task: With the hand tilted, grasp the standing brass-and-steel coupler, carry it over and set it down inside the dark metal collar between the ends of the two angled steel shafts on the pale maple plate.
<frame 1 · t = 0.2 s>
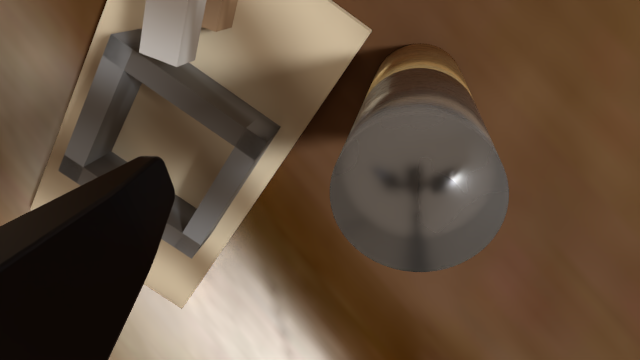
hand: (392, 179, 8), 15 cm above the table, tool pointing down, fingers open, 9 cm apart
coupler: (417, 89, 22), on the table
shaft station: (184, 137, 26), on the table
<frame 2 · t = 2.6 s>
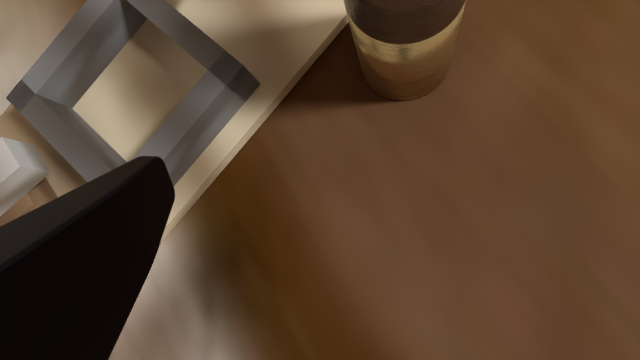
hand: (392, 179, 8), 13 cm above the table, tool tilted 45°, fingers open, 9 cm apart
coupler: (404, 57, 22), on the table
shaft station: (156, 103, 24), on the table
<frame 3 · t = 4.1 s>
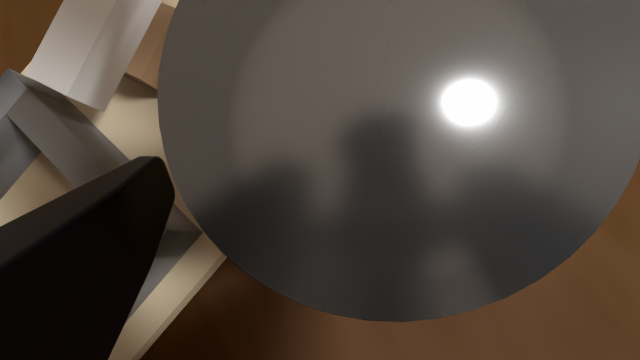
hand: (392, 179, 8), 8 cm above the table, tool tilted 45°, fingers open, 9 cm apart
coupler: (399, 200, 16), on the table
shaft station: (69, 242, 18), on the table
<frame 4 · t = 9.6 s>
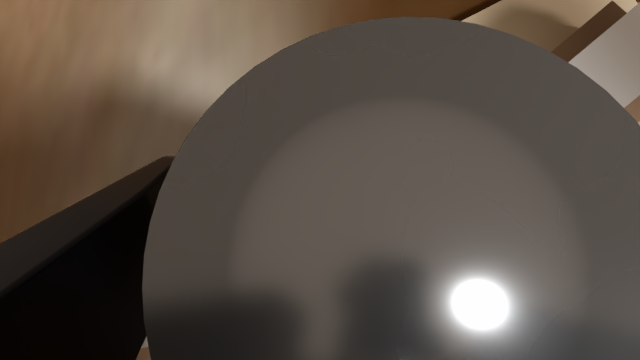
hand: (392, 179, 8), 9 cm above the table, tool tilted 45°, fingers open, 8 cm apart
coupler: (398, 250, 16), point 1 cm above the table, touching shaft station
shaft station: (398, 248, 17), on the table
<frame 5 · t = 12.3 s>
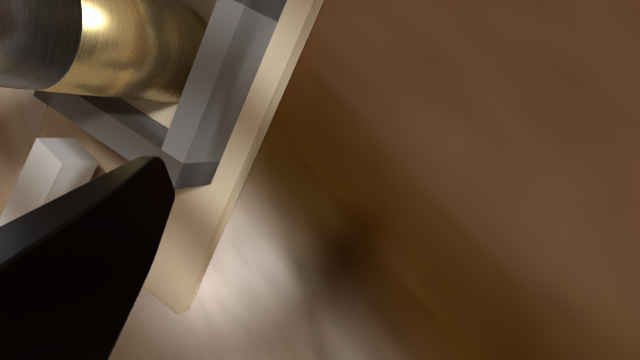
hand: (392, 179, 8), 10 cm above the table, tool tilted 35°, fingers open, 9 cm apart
coupler: (173, 53, 20), point 1 cm above the table, touching shaft station
shaft station: (184, 56, 21), on the table
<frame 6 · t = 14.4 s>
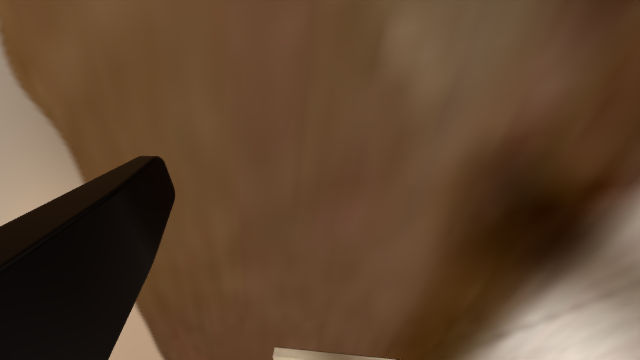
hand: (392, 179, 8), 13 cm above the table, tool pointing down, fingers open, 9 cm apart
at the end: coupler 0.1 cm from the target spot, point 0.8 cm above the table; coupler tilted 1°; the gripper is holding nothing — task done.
